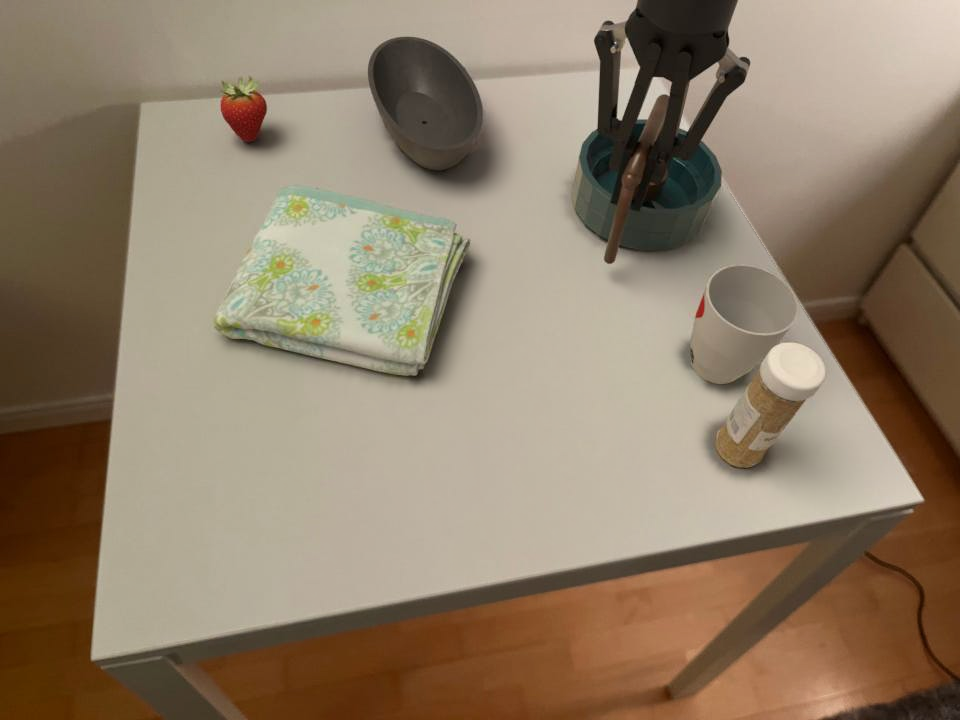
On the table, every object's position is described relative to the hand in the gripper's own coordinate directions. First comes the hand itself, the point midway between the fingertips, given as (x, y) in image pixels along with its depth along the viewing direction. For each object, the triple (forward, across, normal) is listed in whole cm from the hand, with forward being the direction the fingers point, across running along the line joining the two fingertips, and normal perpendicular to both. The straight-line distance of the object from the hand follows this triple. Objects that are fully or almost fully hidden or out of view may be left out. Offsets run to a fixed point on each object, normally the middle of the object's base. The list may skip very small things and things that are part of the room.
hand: (628, 198), depth 75 cm
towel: (+8, +23, +17) cm, 30 cm away
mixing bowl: (+8, -1, -8) cm, 11 cm away
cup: (+8, -14, +10) cm, 19 cm away
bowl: (+8, +27, -9) cm, 30 cm away
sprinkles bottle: (+8, -17, +19) cm, 27 cm away
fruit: (+8, +45, +1) cm, 46 cm away
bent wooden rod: (+5, 0, -4) cm, 6 cm away
